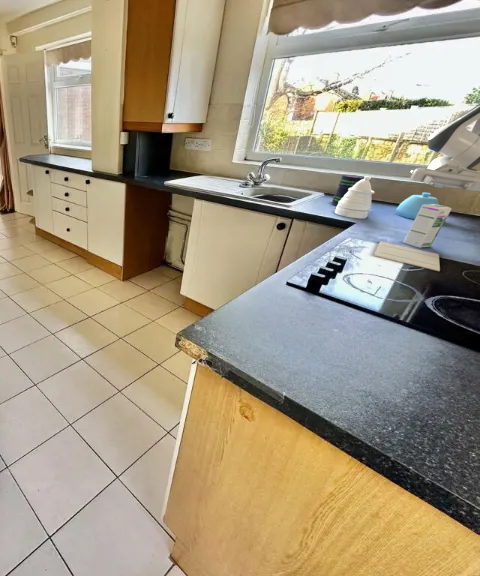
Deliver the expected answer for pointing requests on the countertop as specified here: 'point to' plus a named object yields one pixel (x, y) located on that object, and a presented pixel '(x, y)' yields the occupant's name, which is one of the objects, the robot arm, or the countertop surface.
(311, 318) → the countertop surface
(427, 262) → the wooden board
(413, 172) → the robot arm
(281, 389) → the countertop surface
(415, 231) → the syrup box
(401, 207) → the sugar bowl
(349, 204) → the honey pot
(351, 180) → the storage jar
